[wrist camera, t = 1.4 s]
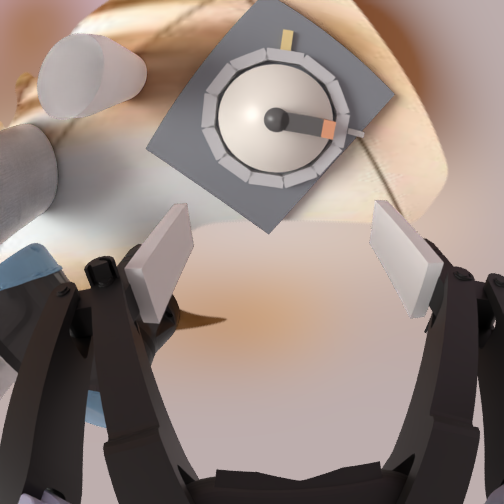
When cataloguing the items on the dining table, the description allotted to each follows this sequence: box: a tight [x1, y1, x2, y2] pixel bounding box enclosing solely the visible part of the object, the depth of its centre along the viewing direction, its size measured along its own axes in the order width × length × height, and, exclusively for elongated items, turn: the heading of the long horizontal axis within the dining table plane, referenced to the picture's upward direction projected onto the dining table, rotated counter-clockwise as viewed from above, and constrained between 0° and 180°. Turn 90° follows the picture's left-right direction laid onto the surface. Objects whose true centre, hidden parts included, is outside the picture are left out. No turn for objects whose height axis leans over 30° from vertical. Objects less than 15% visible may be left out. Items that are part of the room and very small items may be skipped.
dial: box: [218, 64, 336, 172], centre depth 27 cm, size 12×12×5 cm
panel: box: [146, 0, 395, 234], centre depth 29 cm, size 24×20×3 cm
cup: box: [37, 33, 147, 119], centre depth 23 cm, size 9×9×12 cm
